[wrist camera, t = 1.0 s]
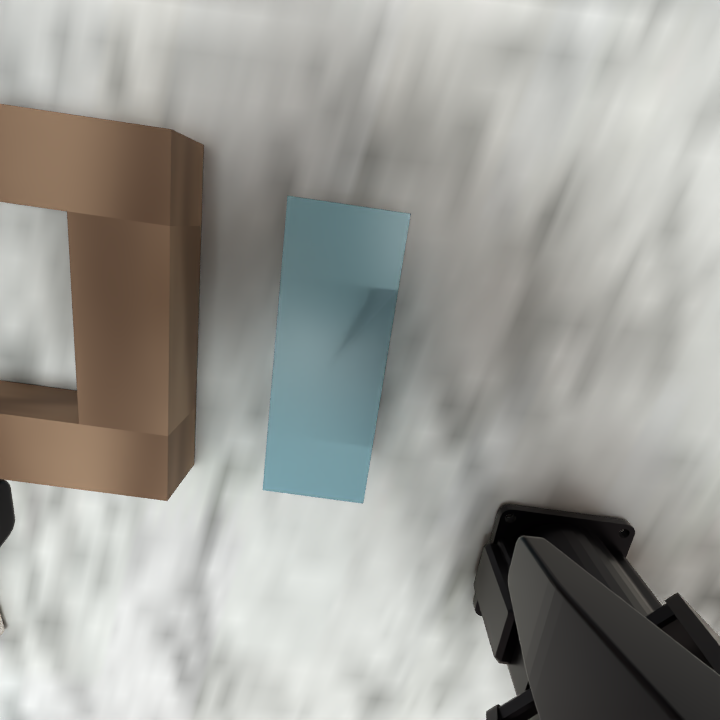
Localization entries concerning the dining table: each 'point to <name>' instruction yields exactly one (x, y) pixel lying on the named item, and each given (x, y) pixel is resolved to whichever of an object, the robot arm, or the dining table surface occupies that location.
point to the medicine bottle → (1, 626)
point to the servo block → (331, 345)
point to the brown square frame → (111, 303)
